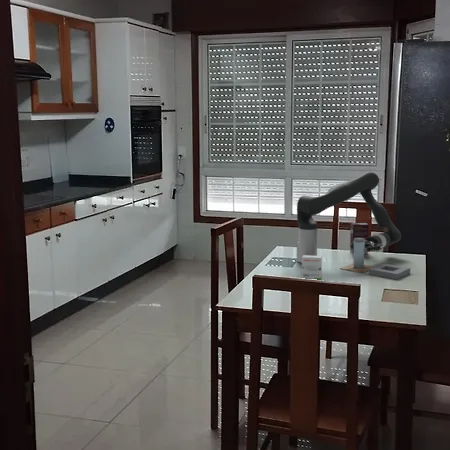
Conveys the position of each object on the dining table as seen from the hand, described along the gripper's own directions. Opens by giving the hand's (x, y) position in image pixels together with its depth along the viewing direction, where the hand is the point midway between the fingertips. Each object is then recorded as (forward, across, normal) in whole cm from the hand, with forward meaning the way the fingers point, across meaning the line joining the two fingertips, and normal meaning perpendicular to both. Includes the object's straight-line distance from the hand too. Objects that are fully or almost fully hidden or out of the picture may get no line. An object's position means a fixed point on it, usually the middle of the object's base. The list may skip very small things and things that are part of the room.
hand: (359, 248), depth 300 cm
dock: (0, +16, +10) cm, 19 cm away
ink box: (+35, -4, +10) cm, 37 cm away
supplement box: (-29, -16, +10) cm, 35 cm away
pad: (0, 0, +10) cm, 10 cm away
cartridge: (0, 0, +10) cm, 10 cm away
